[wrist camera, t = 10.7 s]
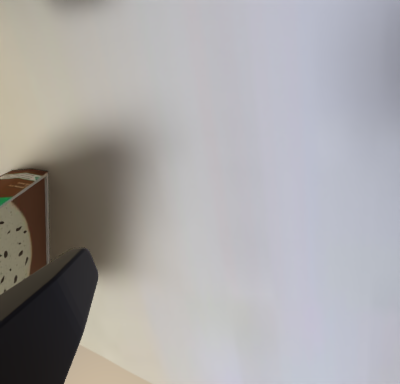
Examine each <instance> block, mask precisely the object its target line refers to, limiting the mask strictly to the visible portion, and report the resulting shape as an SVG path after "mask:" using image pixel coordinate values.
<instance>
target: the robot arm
mask: <svg viewBox="0 0 400 384" xmlns="http://www.w3.org/2000/svg"><path fill="white" fill-rule="evenodd" d="M97 282H98V271H97V268H96V266H95V263H94V261H93V258H92V256H91V253H90V251H89V250H88V249H87V248H72V249H70V250H68V251H67V252H65V253H64V254H62V255H61V256H59V257H57V258H56V259H54V260H53V261H51V262H50V263H48V264H47V265H45V266H44V267H42V268H41V269H39V270H38V271H36V272H34V273H33V274H31V275H30V276H28V277H27V278H25V279H24V280H22V281H21V282H19V283H18V284H16V285H14V286H13V287H11V288H10V289H8V290H7V291H5V292H4V293H2V294H1V295H0V384H64V382H65V379H66V376H67V374H68V371H69V368H70V366H71V364H72V361H73V358H74V356H75V353H76V351H77V348H78V346H79V343H80V340H81V338H82V335H83V332H84V329H85V325H86V322H87V318H88V315H89V311H90V307H91V304H92V300H93V296H94V293H95V289H96V285H97Z"/></svg>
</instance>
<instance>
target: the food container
mask: <svg viewBox="0 0 400 384" xmlns="http://www.w3.org/2000/svg"><path fill="white" fill-rule="evenodd" d="M48 263H50V256H49V188H48V172H47V171H42V170H36V169H24V170H12V171H10V172H8V173H6V174H4V175H2V176H0V295H1V294H2V293H4V292H5V291H7V290H8V289H10V288H11V287H13V286H14V285H16V284H18V283H19V282H21V281H22V280H24V279H25V278H27V277H28V276H30V275H31V274H33V273H34V272H36V271H38V270H39V269H41V268H42V267H44V266H45V265H47V264H48Z"/></svg>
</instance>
